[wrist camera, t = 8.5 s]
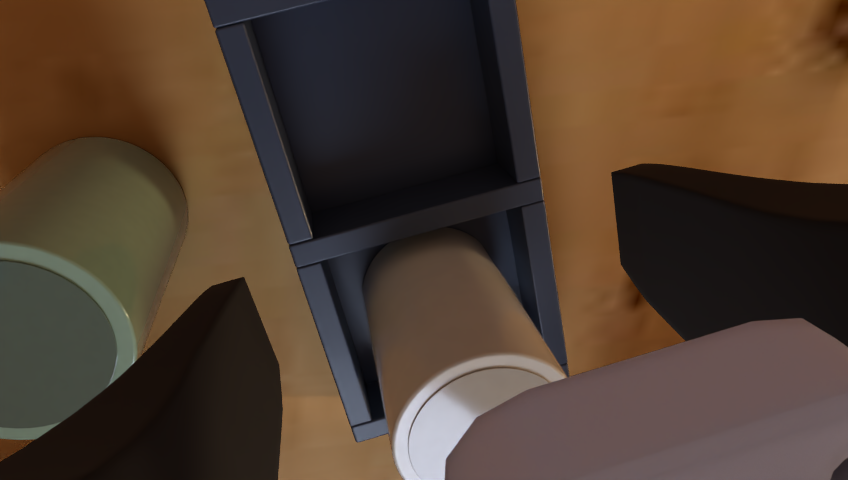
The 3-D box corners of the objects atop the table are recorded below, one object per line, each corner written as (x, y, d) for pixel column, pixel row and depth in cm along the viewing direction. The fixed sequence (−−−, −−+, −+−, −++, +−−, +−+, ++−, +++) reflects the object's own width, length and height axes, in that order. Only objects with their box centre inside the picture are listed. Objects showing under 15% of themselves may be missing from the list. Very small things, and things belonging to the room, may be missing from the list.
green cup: (210, 258, 22) (171, 406, 15) (64, 297, 22) (-47, 468, 15) (153, 118, 20) (77, 214, 13) (-10, 159, 20) (-181, 281, 13)
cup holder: (545, 340, 26) (570, 380, 24) (350, 397, 26) (356, 444, 23) (479, -74, 20) (505, -77, 17) (214, -10, 19) (202, -4, 17)
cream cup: (506, 326, 25) (591, 478, 18) (380, 362, 25) (416, 533, 18) (484, 209, 23) (571, 330, 16) (346, 247, 23) (370, 388, 15)
